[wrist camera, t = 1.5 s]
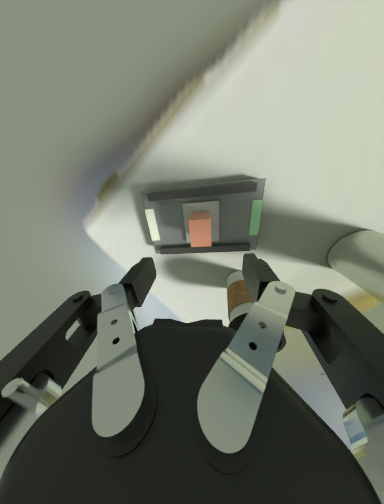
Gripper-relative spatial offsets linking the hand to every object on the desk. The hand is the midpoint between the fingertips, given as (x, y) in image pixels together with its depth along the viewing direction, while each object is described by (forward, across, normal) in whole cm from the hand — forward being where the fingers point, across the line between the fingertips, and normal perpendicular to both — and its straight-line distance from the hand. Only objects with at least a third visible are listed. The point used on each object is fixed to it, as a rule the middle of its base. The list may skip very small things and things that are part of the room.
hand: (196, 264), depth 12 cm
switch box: (+17, 0, 0) cm, 17 cm away
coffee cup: (+17, -8, +16) cm, 25 cm away
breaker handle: (+14, 0, 0) cm, 14 cm away
